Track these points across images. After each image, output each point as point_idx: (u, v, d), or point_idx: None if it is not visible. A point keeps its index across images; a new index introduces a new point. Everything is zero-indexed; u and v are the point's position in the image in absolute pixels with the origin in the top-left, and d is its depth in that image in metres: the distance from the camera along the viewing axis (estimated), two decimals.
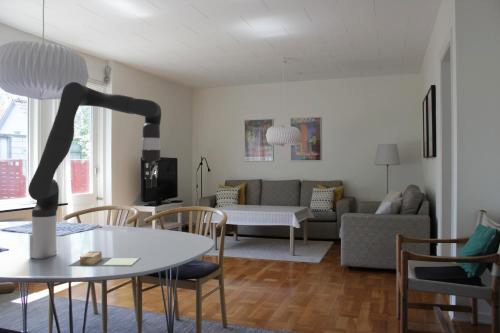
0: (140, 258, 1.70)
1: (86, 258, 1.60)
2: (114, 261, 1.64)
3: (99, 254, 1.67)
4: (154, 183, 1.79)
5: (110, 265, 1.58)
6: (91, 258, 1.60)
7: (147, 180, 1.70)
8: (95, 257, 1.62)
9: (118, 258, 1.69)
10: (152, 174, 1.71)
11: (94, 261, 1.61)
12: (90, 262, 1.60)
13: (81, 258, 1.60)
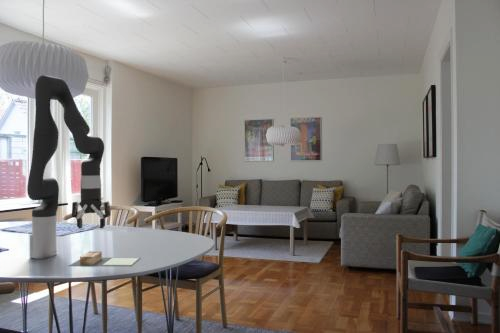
0: (140, 258, 1.70)
1: (86, 258, 1.60)
2: (114, 261, 1.64)
3: (99, 254, 1.67)
4: (81, 224, 1.65)
5: (110, 265, 1.58)
6: (91, 258, 1.60)
7: (104, 219, 1.64)
8: (95, 257, 1.62)
9: (118, 258, 1.69)
10: None
11: (94, 261, 1.61)
12: (90, 262, 1.60)
13: (81, 258, 1.60)
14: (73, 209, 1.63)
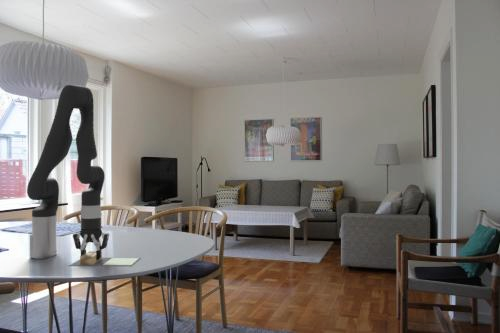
0: (140, 258, 1.70)
1: (86, 258, 1.60)
2: (114, 261, 1.64)
3: None
4: None
5: (110, 265, 1.58)
6: (91, 258, 1.60)
7: (100, 251, 1.64)
8: (95, 257, 1.62)
9: (118, 258, 1.69)
10: None
11: (94, 261, 1.61)
12: (90, 262, 1.60)
13: (81, 258, 1.60)
14: (75, 241, 1.63)
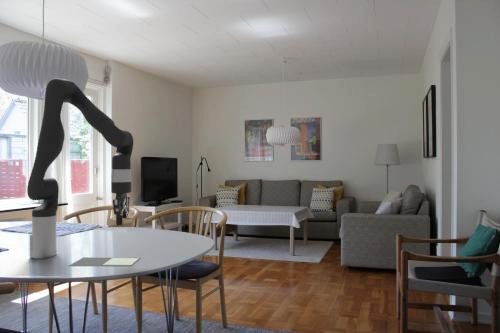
0: (140, 258, 1.70)
1: (132, 220, 1.64)
2: (114, 261, 1.64)
3: None
4: None
5: (110, 265, 1.58)
6: (134, 219, 1.66)
7: None
8: None
9: (118, 258, 1.69)
10: None
11: None
12: (134, 223, 1.66)
13: (131, 221, 1.62)
14: (120, 206, 1.58)
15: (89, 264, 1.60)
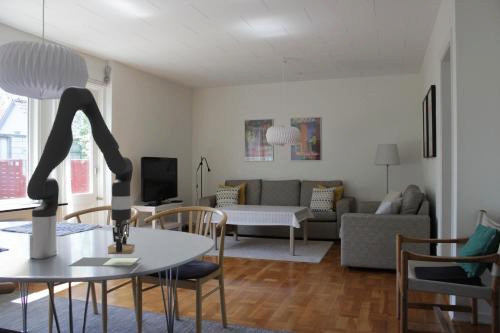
0: (140, 258, 1.70)
1: (132, 247, 1.64)
2: (114, 261, 1.64)
3: None
4: None
5: (110, 265, 1.58)
6: (134, 246, 1.66)
7: None
8: None
9: (118, 258, 1.69)
10: None
11: None
12: (133, 250, 1.65)
13: (131, 248, 1.62)
14: (119, 234, 1.58)
15: (89, 264, 1.60)
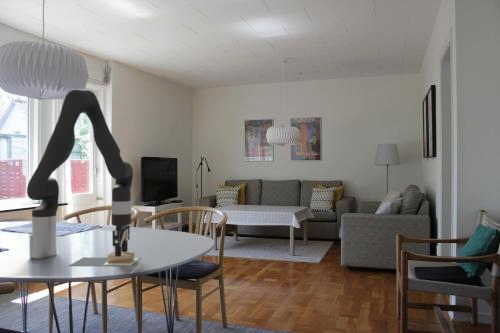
0: (140, 258, 1.70)
1: (132, 255, 1.64)
2: None
3: None
4: None
5: (110, 265, 1.58)
6: (134, 254, 1.66)
7: None
8: None
9: None
10: None
11: None
12: (133, 258, 1.66)
13: (131, 256, 1.62)
14: (119, 237, 1.58)
15: (89, 264, 1.60)
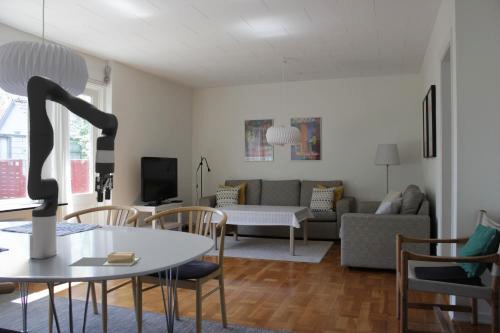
0: (140, 258, 1.70)
1: (132, 255, 1.64)
2: None
3: None
4: None
5: (110, 265, 1.58)
6: (134, 254, 1.66)
7: None
8: None
9: None
10: None
11: None
12: (133, 258, 1.66)
13: (131, 256, 1.62)
14: (101, 183, 1.65)
15: (89, 264, 1.60)
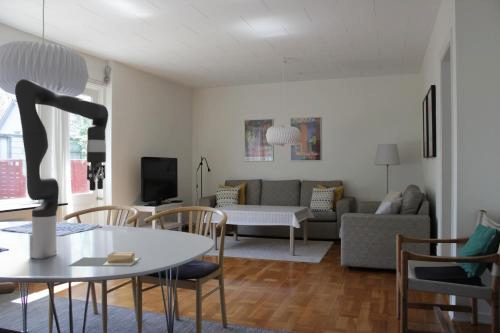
0: (140, 258, 1.70)
1: (132, 255, 1.64)
2: None
3: None
4: None
5: (110, 265, 1.58)
6: (134, 254, 1.66)
7: None
8: None
9: None
10: None
11: None
12: (133, 258, 1.66)
13: (131, 256, 1.62)
14: (93, 172, 1.68)
15: (89, 264, 1.60)
